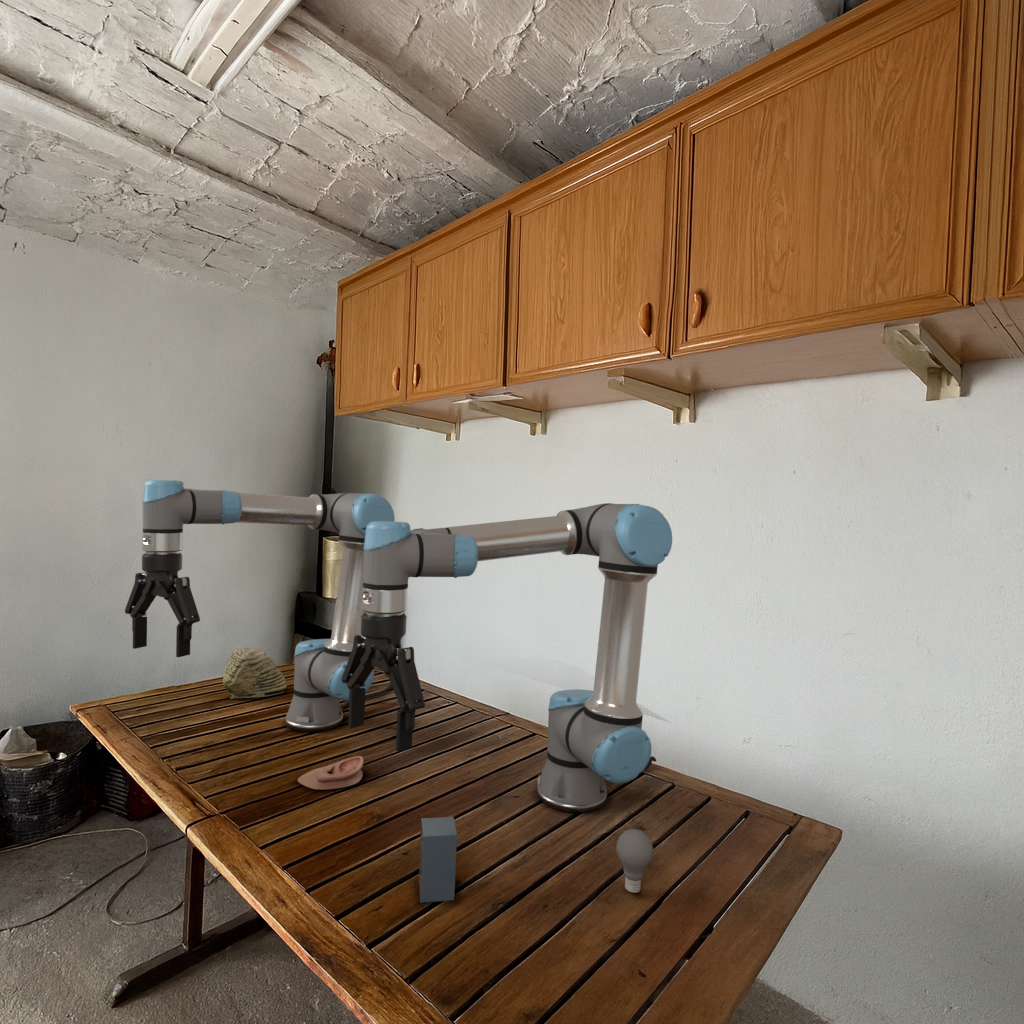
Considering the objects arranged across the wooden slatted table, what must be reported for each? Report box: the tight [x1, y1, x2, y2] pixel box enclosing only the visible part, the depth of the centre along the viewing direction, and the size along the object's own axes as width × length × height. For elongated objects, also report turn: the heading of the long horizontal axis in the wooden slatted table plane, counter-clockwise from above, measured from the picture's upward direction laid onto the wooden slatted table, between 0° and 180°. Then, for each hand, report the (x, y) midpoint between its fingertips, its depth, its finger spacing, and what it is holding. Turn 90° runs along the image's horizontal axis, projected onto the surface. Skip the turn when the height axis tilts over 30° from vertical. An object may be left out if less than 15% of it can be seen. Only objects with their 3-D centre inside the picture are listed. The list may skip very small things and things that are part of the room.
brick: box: [418, 816, 458, 904], centre depth 104 cm, size 6×5×11 cm
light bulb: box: [615, 828, 654, 894], centre depth 106 cm, size 6×6×10 cm
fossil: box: [222, 646, 288, 699], centre depth 198 cm, size 9×18×15 cm, turn 132°
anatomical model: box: [297, 755, 364, 791], centre depth 142 cm, size 13×4×12 cm
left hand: (161, 651), depth 135 cm, fingers open, 13 cm apart
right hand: (379, 737), depth 107 cm, fingers open, 13 cm apart
